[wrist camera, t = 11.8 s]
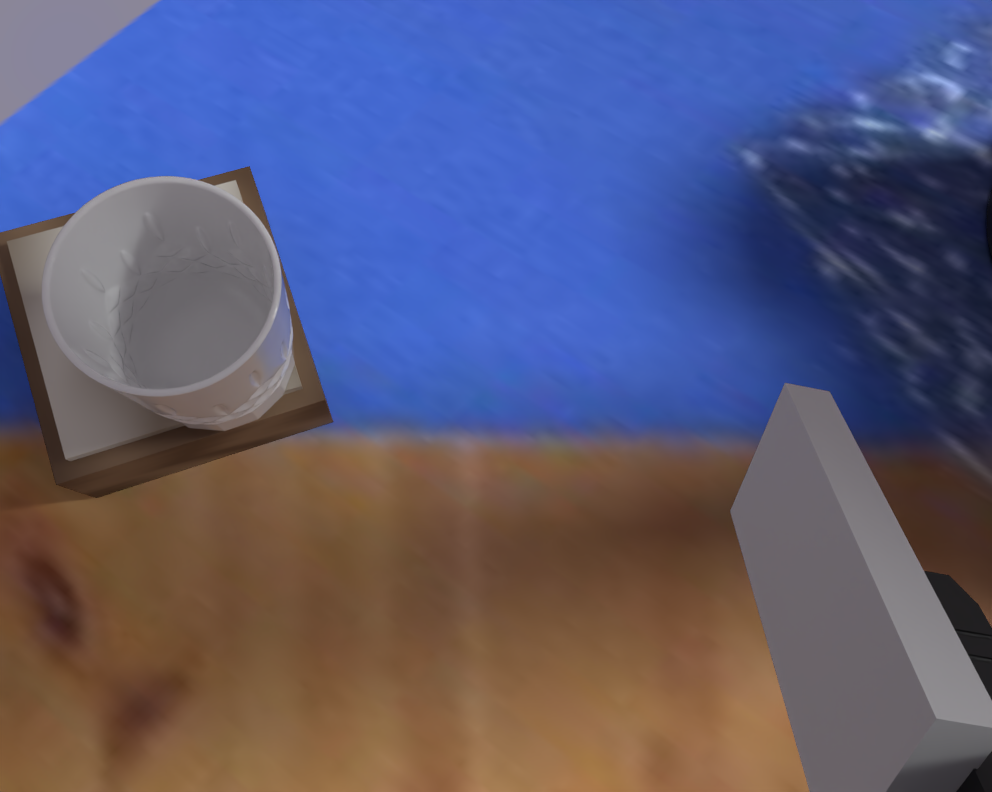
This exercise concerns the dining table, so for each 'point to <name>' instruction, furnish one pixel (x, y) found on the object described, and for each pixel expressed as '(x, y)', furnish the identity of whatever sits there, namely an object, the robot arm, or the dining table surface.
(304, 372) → the base
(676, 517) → the dining table surface
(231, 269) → the white cup
